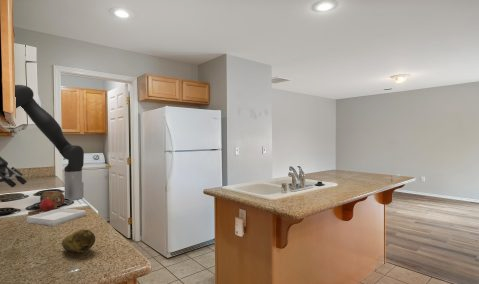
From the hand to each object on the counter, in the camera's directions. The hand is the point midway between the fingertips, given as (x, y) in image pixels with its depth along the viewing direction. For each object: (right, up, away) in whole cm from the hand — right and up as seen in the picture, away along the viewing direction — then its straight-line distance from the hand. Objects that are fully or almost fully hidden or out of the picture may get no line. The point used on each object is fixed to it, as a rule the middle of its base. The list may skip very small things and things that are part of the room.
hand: (20, 184), depth 129 cm
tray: (+24, -15, -8) cm, 29 cm away
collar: (+11, -15, +3) cm, 19 cm away
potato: (+56, -15, -44) cm, 73 cm away
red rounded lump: (+11, -15, +3) cm, 19 cm away
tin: (+4, -15, +16) cm, 22 cm away
